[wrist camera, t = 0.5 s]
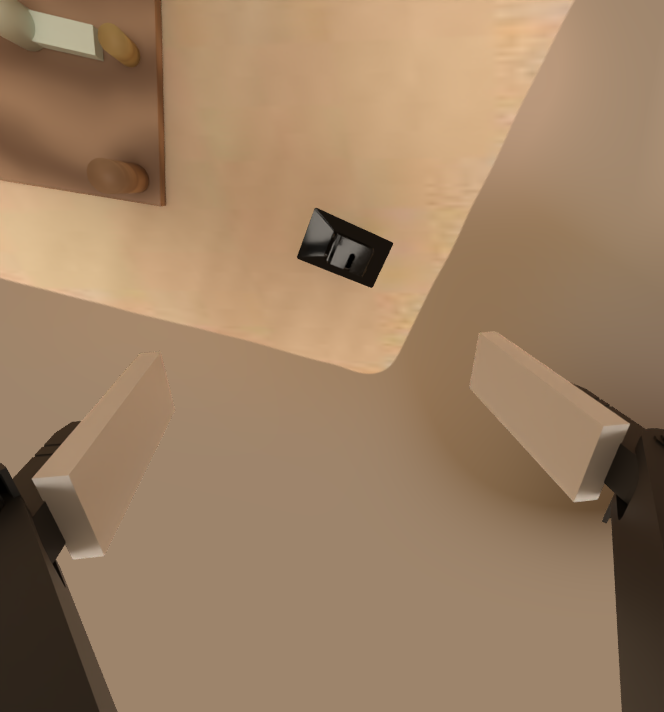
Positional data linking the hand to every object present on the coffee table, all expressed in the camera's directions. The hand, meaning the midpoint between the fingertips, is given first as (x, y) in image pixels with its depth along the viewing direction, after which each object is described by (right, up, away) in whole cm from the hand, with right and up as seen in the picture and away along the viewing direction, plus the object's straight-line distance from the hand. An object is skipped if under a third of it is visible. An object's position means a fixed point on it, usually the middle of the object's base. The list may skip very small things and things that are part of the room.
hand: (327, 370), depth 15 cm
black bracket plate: (+2, +12, +24) cm, 27 cm away
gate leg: (-21, +25, +12) cm, 35 cm away
